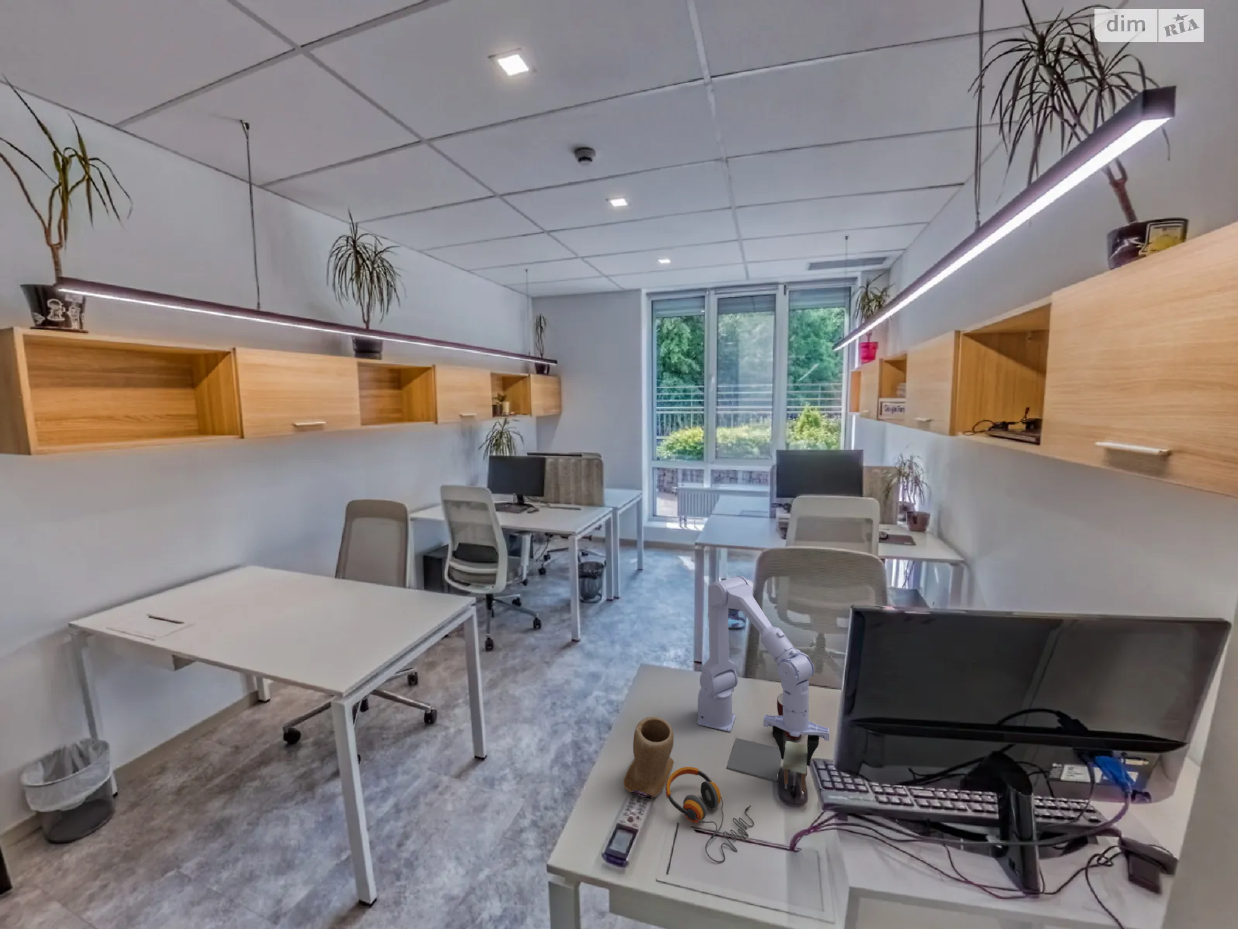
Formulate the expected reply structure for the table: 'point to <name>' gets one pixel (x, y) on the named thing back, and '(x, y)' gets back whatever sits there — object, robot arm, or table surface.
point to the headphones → (696, 807)
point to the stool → (795, 761)
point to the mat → (755, 759)
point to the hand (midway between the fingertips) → (795, 760)
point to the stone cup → (650, 756)
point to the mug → (780, 713)
